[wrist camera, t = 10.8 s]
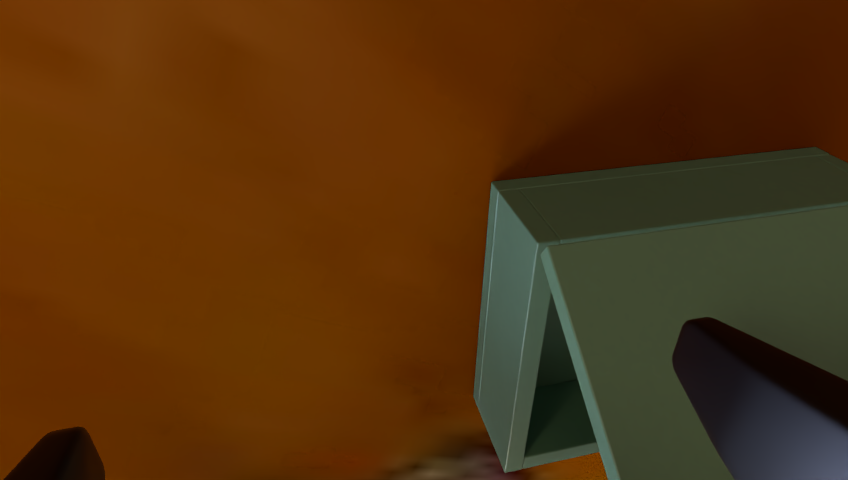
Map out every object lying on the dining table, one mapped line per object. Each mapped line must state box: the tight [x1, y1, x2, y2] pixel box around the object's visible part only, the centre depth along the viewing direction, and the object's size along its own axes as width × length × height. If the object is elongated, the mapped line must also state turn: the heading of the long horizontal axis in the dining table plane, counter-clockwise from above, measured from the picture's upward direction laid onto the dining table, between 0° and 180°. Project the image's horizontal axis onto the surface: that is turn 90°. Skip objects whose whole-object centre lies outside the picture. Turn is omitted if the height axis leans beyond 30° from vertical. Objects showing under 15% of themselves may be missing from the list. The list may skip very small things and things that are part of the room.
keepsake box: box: [473, 147, 848, 473], centre depth 24 cm, size 12×15×4 cm
